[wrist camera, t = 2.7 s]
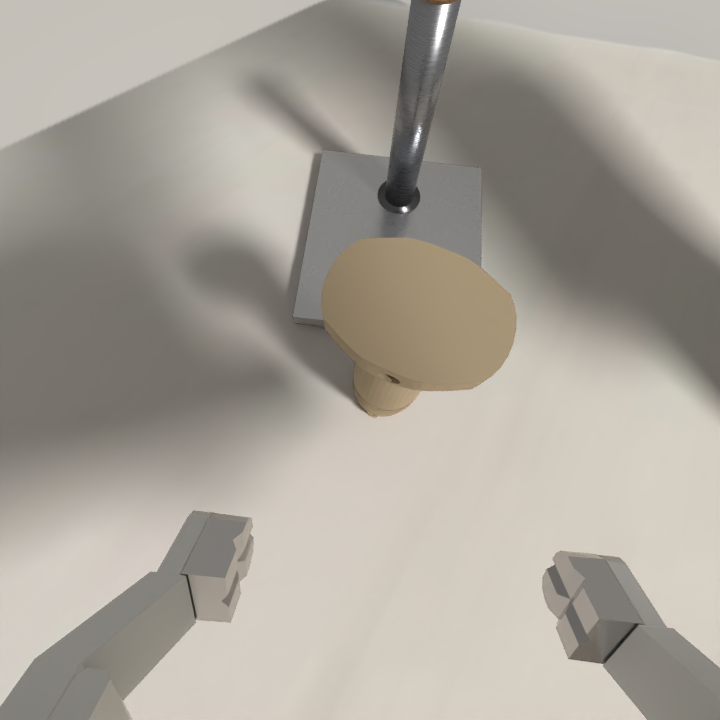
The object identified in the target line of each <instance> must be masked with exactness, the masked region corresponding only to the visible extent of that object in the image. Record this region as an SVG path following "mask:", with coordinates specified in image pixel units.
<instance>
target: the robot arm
mask: <svg viewBox="0 0 720 720" xmlns="http://www.w3.org/2000/svg"><path fill="white" fill-rule="evenodd" d="M252 527H253V524H252V518H249V517H241V516H234V515H226V514H218V513H211V512H202V511H193V512H192V513H191V514H190V515H189V516H188V518H187V519H186V521H185V523H184V525H183V526H182V528H181V530H180V532H179V534H178V535H177V537H176V539H175V541H174V542H173V544H172V546H171V548H170V550H169V551H168V553H167V555H166V557H165V558H164V560H163V562H162V564H161V565H160V567H159V569H158V571H157V572H150V573H148V574H147V575H146V576H144V577H143V578H142V579H140V580H139V581H138V582H136V583H135V584H134V585H132V586H131V587H130V588H128V589H127V590H126V591H124V592H123V593H122V594H120V595H119V596H118V597H116V598H115V599H114V600H112V601H111V602H110V603H108V604H107V605H106V606H104V607H103V608H102V609H100V610H99V611H98V612H97V613H95V614H94V615H93V616H91V617H90V618H89V619H87V620H86V621H85V622H83V623H82V624H81V625H79V626H78V627H77V628H75V629H74V630H73V631H71V632H70V633H69V634H67V635H66V636H65V637H63V638H62V639H61V640H59V641H58V642H57V643H55V644H54V645H53V646H51V647H50V648H49V649H47V650H46V651H45V652H43V653H42V654H41V655H39V656H38V657H37V658H36V659H34V661H33V662H32V663H31V665H30V666H29V668H28V669H27V670H26V672H25V673H24V674H23V676H22V677H21V679H20V680H19V681H18V683H17V684H16V686H15V687H14V688H13V690H12V691H11V693H10V694H9V695H8V697H7V698H6V700H5V701H4V702H3V704H2V705H1V707H0V720H132V718H131V716H130V714H129V712H128V710H127V708H126V706H125V704H124V702H123V700H124V699H125V698H126V697H127V696H128V695H129V694H130V693H131V691H132V690H133V689H134V688H135V687H136V686H137V685H138V684H139V683H140V682H141V681H142V680H143V679H144V677H145V676H146V675H147V674H148V673H149V672H150V671H151V670H152V669H153V668H154V667H155V666H156V665H157V664H158V662H159V661H160V660H161V659H162V658H163V657H164V656H165V655H166V654H167V653H168V652H169V651H170V650H171V648H172V647H173V646H174V645H175V644H176V643H177V642H178V641H179V640H180V639H181V638H182V637H183V636H184V635H185V633H186V632H187V631H188V630H189V629H190V628H191V627H192V626H193V625H194V624H195V623H196V620H205V621H218V622H231V621H232V618H233V615H234V612H235V609H236V606H237V603H238V600H239V597H240V594H241V593H240V581H241V580H242V579H243V578H244V577H246V576H247V573H248V569H249V566H250V563H251V558H252V553H253V545H254V541H253V536H252V535H251V534H250V532H251V529H252ZM553 561H554V563H555V565H553V566H552V567H550V568H548V569H546V571H545V573H544V575H543V582H542V589H543V594H544V598H545V601H546V603H547V606H548V608H549V610H550V611H551V612H552V613H553V614H554V615H555V616H556V617H557V618H558V622H557V626H556V629H557V632H558V634H559V637H560V639H561V642H562V644H563V647H564V649H565V652H566V654H567V657H568V659H572V660H579V661H587V662H594V663H601V664H604V665H603V667H604V668H605V669H606V670H607V671H608V673H609V674H610V675H611V676H612V677H613V679H614V680H615V681H616V682H617V684H618V685H619V686H620V687H621V688H622V690H623V691H624V692H625V693H626V694H627V696H628V697H629V698H630V699H631V700H632V702H633V703H634V704H635V705H636V707H637V708H638V709H639V710H640V711H641V713H642V714H643V715H644V716H645V717H646V719H647V720H720V668H719V667H718V666H717V665H716V664H714V663H713V662H712V661H711V660H710V659H708V658H707V657H706V656H705V655H704V654H703V653H701V652H700V651H699V650H698V649H697V648H696V647H694V646H693V645H692V644H691V643H690V642H688V641H687V640H686V639H685V638H684V637H683V636H681V635H680V634H679V633H678V632H677V631H676V630H674V629H673V628H667V627H666V625H665V624H664V622H663V621H662V619H661V618H660V616H659V614H658V613H657V611H656V610H655V608H654V607H653V605H652V604H651V602H650V600H649V599H648V597H647V596H646V594H645V593H644V591H643V590H642V588H641V586H640V585H639V583H638V582H637V580H636V579H635V577H634V576H633V574H632V572H631V571H630V569H629V568H628V566H627V565H626V563H625V562H624V561H623V560H622V559H620V558H619V557H614V556H602V555H597V554H589V553H578V552H567V551H559V552H557V553H556V554H555V555H554V557H553Z"/></svg>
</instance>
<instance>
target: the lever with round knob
mask: <svg viewBox="0 0 720 720" xmlns="http://www.w3.org/2000/svg"><path fill="white" fill-rule="evenodd" d="M460 3H461V0H411V6H410V13H409V20H408V28H407V35H406V42H405V50H404V57H403V64H402V72H401V79H400V86H399V94H398V101H397V108H396V116H395V123H394V130H393V138H392V145H391V152H390V160H389V167H388V174H387V182H386V189H385V198H386V200H387V202H388V203H389V204H391V205H392V206H395V207H405V206H407V205H409V204H410V203H411V202H412V200H413V196H414V192H415V188H416V184H417V180H418V176H419V172H420V168H421V163H422V159H423V155H424V151H425V147H426V143H427V139H428V135H429V131H430V126H431V122H432V118H433V114H434V110H435V106H436V102H437V98H438V93H439V89H440V85H441V81H442V77H443V73H444V69H445V65H446V61H447V56H448V52H449V48H450V44H451V40H452V36H453V32H454V28H455V23H456V19H457V15H458V11H459V7H460Z"/></svg>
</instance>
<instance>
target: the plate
mask: <svg viewBox="0 0 720 720" xmlns="http://www.w3.org/2000/svg"><path fill="white" fill-rule="evenodd" d="M389 160H390V157H381V156H373V155H364V154H355V153H347V152H338V151H329V150H323V152H322V157H321V163H320V168H319V174H318V180H317V185H316V191H315V196H314V202H313V207H312V213H311V218H310V224H309V229H308V235H307V240H306V246H305V251H304V257H303V262H302V268H301V274H300V279H299V285H298V290H297V296H296V301H295V307H294V312H293V319H294V322H295V323H300V324H308V325H317V326H324V321H323V316H322V310H321V293H322V288H323V283H324V281H325V279H326V276H327V274H328V271H329V269H330V268H331V266H332V265H333V263H334V261H335V260H336V259H337V257H338V256H339V255H340V254H341V253H342V252H343V251H344V250H345V249H346V248H348V247H349V246H350V245H352V244H353V243H355V242H357V241H359V240H360V239H362V238H410V239H417V240H421V241H424V242H428V243H431V244H433V245H436V246H439V247H441V248H444V249H447V250H449V251H452V252H455V253H457V254H459V255H461V256H463V257H466V258H468V259H470V260H471V261H472V262H474V263H475V264H476V265H478V266H479V267H481V214H482V168H477V167H469V166H460V165H451V164H442V163H434V162H425V161H422V163H421V168H420V172H419V176H418V180H417V184H416V188H415V192H414V196H413V200H412V202H411V203H410V204H409V205H407V206H405V207H395V206H392V205H391V204H389V203H388V202H387V200H386V198H385V189H386V182H387V174H388V167H389Z"/></svg>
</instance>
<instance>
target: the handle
mask: <svg viewBox="0 0 720 720" xmlns="http://www.w3.org/2000/svg"><path fill="white" fill-rule="evenodd" d="M321 310H322V316H323V321H324V327H325V330H326V331H327V332H328V334H329V335H330V336H331V337H332V338H333V340H334V341H335V342H336V343H337V344H338V345H339V346H340V347H341V349H342V350H343V351H344V352H345V353H346V354H347V355H348V356H349V357H350V358H351V359H352V360H353V361H355V362H356V364H355V367H354V372H353V387H354V392H355V395H356V398H357V400H358V402H359V404H360V405H361V406H362V407H363V408H364V409H365V410H366V411H367V414H368V415H369V416H372V417H377V416H390V415H393V414H396V413H398V412H400V411H402V410H404V409H405V408H406V407H408V406H409V405H410V404H411V403H412V402H413V401H414V400H415V398H416V397H417V396H418V394H419V392H420V391H454V390H468V389H473V388H474V387H476V386H478V385H479V384H481V383H482V382H484V381H485V380H487V379H488V378H490V377H491V376H492V375H493V374H494V373H495V372H497V371H498V370H499V369H500V368H501V366H502V365H503V363H504V362H505V360H506V358H507V357H508V355H509V352H510V350H511V347H512V345H513V342H514V337H515V332H516V312H515V307H514V303H513V300H512V297H511V295H510V294H509V293H508V292H507V291H506V290H505V289H504V288H503V287H502V286H501V285H500V284H498V283H497V282H496V281H495V280H494V279H493V278H492V277H491V276H490V275H489V274H487V273H486V272H485V271H484V270H483V269H482V268H481V267H479V266H478V265H476V264H475V263H474V262H472V261H471V260H470V259H468V258H466V257H463V256H461V255H459V254H457V253H455V252H452V251H449V250H447V249H444V248H441V247H439V246H436V245H433V244H431V243H428V242H424V241H421V240H417V239H410V238H362V239H360V240H359V241H357V242H355V243H353V244H352V245H350V246H349V247H348V248H346V249H345V250H344V251H343V252H342V253H341V254H340V255H339V256H338V257H337V259H336V260H335V261H334V263H333V265H332V266H331V268H330V269H329V271H328V274H327V276H326V279H325V281H324V283H323V288H322V293H321Z"/></svg>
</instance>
